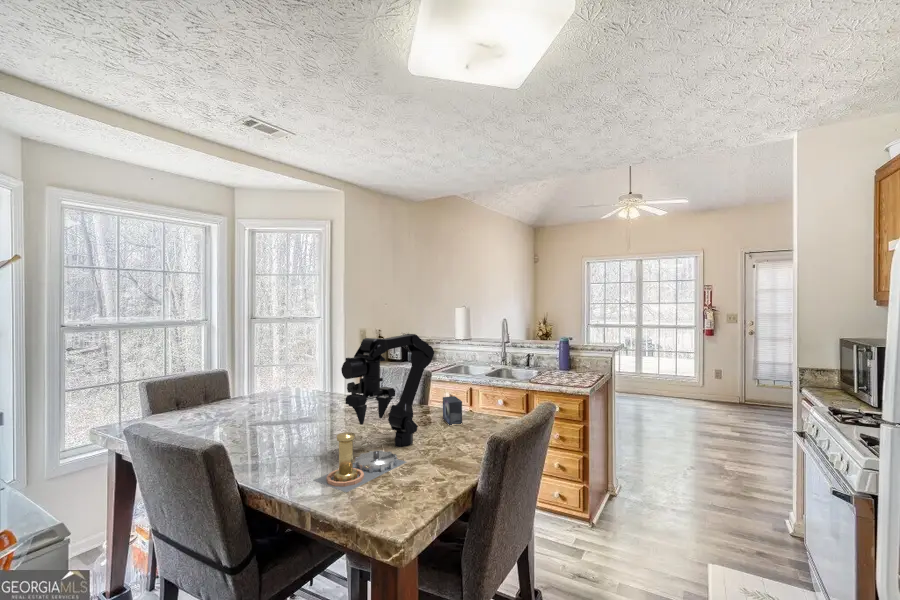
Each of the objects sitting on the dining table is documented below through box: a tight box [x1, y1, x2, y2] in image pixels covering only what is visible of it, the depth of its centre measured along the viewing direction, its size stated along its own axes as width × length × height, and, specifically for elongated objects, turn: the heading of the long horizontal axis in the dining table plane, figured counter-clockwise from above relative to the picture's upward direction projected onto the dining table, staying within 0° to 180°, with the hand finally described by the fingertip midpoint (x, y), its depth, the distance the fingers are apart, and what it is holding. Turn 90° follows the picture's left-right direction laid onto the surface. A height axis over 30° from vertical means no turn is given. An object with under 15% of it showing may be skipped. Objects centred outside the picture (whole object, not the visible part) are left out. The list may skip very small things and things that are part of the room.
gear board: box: [313, 458, 407, 493], centre depth 128 cm, size 26×14×2 cm, turn 147°
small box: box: [442, 395, 463, 426], centre depth 185 cm, size 11×6×10 cm, turn 17°
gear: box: [354, 450, 398, 473], centre depth 133 cm, size 13×13×4 cm
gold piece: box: [334, 431, 358, 482], centre depth 122 cm, size 7×7×13 cm
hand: (371, 421), depth 141 cm, fingers open, 9 cm apart
